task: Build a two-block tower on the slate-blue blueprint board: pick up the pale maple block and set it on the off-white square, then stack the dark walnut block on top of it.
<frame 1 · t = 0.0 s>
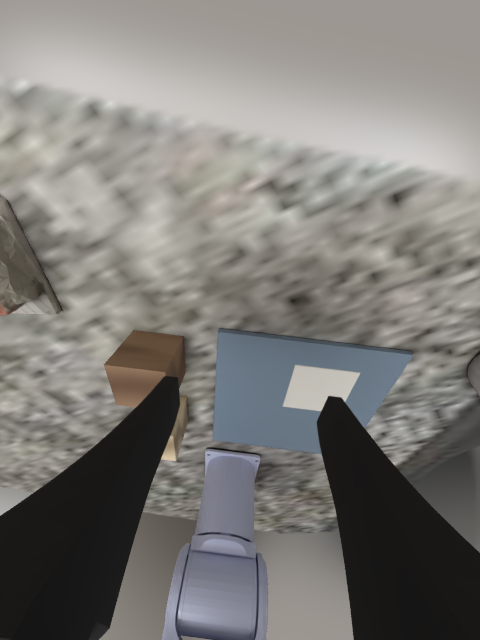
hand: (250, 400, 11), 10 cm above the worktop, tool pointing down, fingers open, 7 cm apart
maple block: (168, 406, 28), on the worktop
walnut block: (161, 352, 23), on the worktop
blueprint board: (292, 401, 26), on the worktop
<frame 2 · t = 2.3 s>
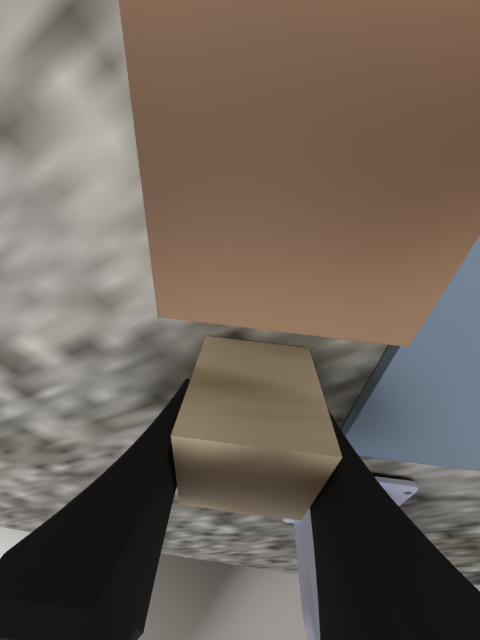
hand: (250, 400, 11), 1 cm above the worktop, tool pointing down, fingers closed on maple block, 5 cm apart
maple block: (251, 378, 12), on the worktop, touching gripper
walnut block: (283, 184, 7), on the worktop
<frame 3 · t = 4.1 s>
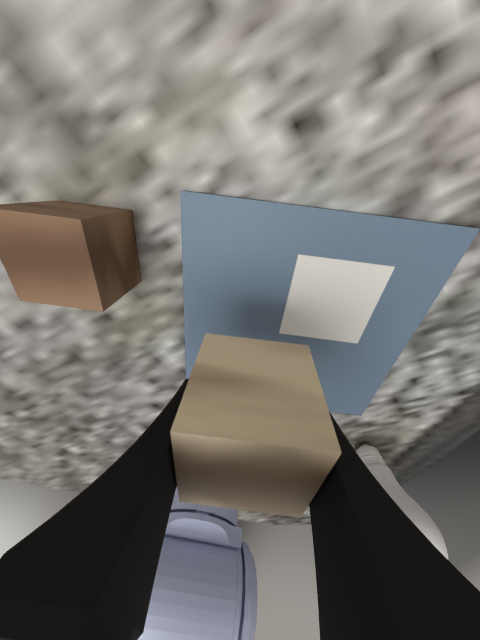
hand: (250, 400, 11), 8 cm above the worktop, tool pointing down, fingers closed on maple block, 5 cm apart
maple block: (250, 376, 12), point 7 cm above the worktop, touching gripper
walnut block: (103, 243, 16), on the worktop
lightbulb: (363, 443, 26), on the worktop
blueprint board: (293, 328, 18), on the worktop
when the fingers open (3 cm above the worktop, at t = 6.0 s): maple block drops 1 cm, resting on blueprint board.
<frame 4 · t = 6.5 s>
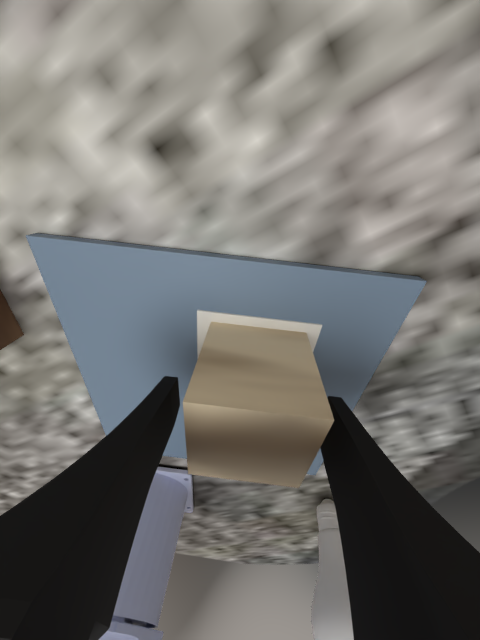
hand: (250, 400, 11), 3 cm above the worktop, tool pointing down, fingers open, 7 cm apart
maple block: (252, 362, 13), point 1 cm above the worktop, touching blueprint board
lightbulb: (326, 497, 23), on the worktop
blueprint board: (217, 386, 15), on the worktop
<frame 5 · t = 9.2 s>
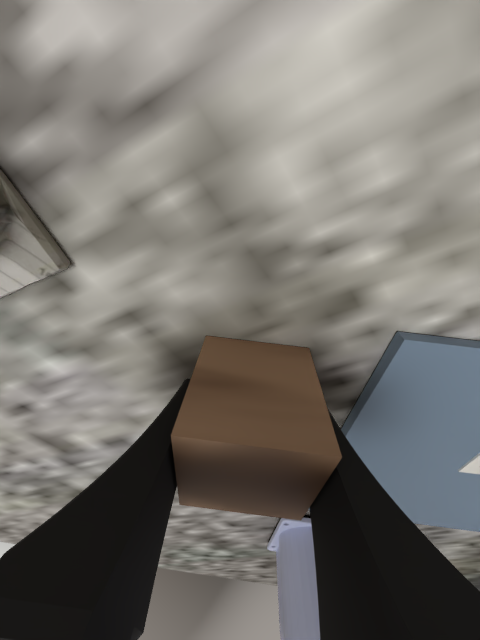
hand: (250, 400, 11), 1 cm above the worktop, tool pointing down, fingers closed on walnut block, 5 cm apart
walnut block: (251, 378, 12), on the worktop, touching gripper
blueprint board: (471, 460, 14), on the worktop
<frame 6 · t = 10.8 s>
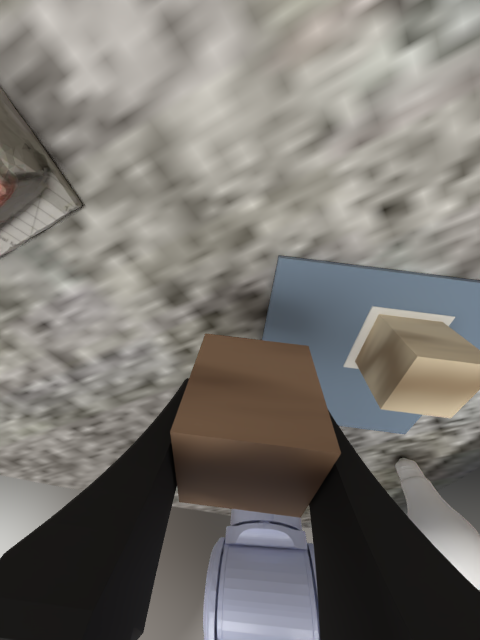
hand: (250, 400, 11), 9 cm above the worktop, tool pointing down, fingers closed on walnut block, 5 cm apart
maple block: (395, 343, 19), point 1 cm above the worktop, touching blueprint board
walnut block: (250, 376, 12), point 8 cm above the worktop, touching gripper
lightbulb: (401, 457, 29), on the worktop
blueprint board: (354, 361, 21), on the worktop
when the fingers open (8 cm above the worktop, at t = 12.4 s): walnut block stays where it is, resting on maple block.
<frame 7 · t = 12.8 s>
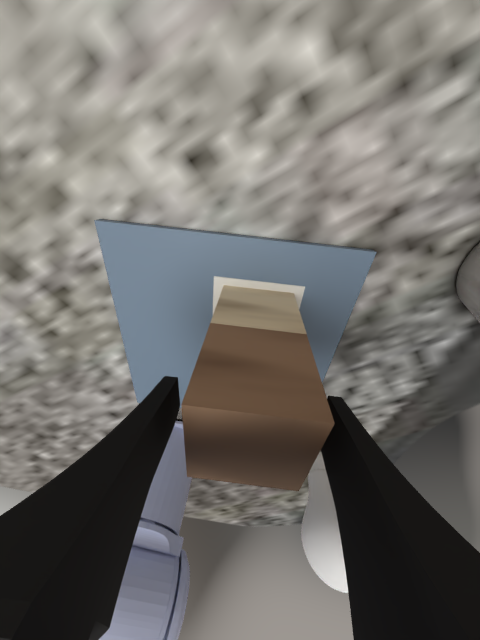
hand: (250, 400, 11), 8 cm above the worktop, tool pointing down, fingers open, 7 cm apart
maple block: (254, 318, 17), point 1 cm above the worktop, touching blueprint board, walnut block
walnut block: (252, 364, 13), point 6 cm above the worktop, touching maple block
lightbulb: (316, 449, 27), on the worktop
blueprint board: (226, 342, 19), on the worktop
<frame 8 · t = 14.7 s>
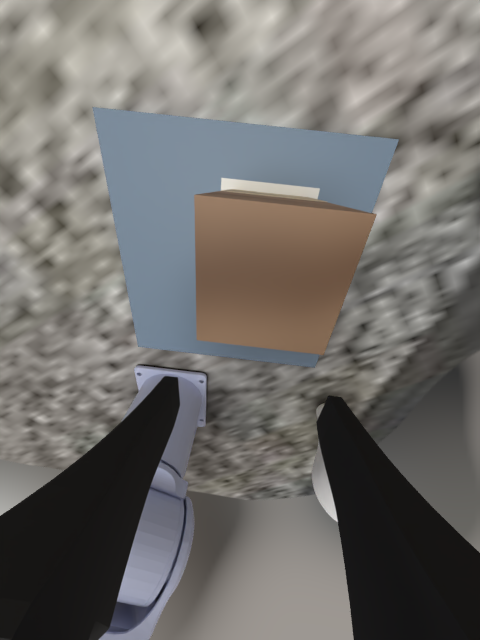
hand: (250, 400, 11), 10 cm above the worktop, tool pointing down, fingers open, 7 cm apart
walnut block: (265, 250, 12), point 6 cm above the worktop, touching maple block
lightbulb: (324, 403, 26), on the worktop
blueprint board: (233, 269, 18), on the worktop
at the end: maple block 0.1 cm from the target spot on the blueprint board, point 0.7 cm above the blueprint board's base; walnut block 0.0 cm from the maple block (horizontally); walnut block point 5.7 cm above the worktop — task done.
